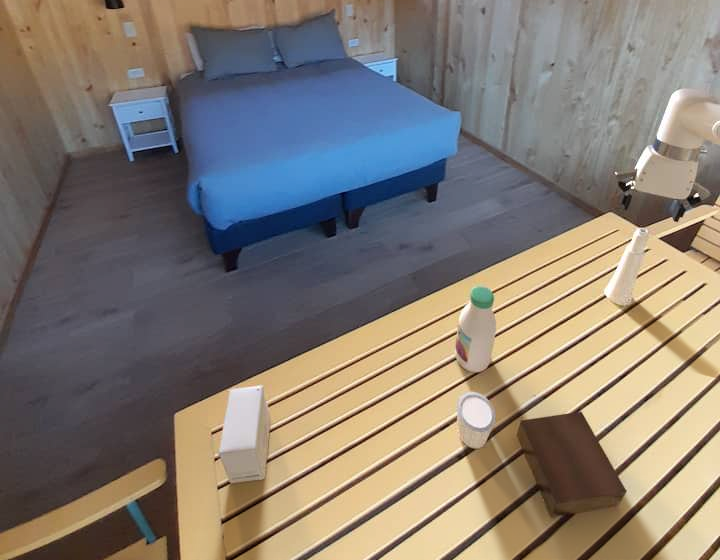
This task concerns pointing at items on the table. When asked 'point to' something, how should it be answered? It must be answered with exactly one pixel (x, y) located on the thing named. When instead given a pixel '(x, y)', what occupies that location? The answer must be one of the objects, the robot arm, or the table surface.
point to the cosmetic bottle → (628, 270)
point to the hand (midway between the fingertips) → (648, 212)
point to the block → (569, 464)
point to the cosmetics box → (245, 435)
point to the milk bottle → (476, 331)
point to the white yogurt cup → (474, 419)
